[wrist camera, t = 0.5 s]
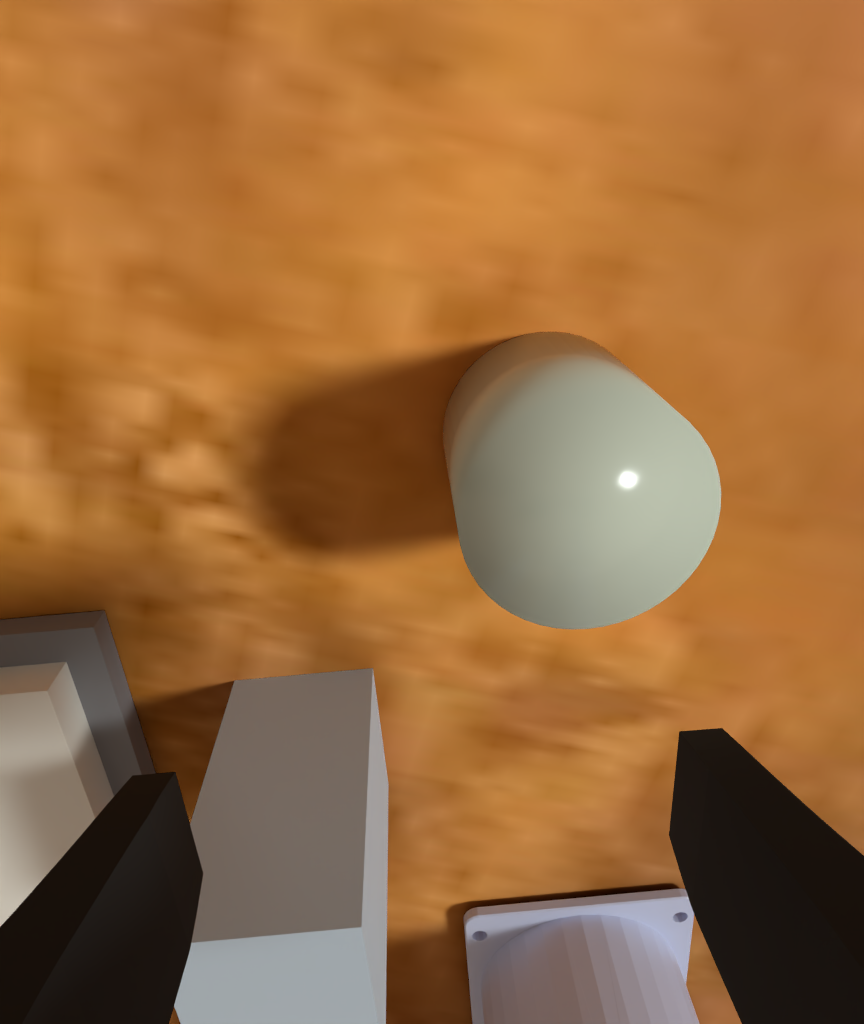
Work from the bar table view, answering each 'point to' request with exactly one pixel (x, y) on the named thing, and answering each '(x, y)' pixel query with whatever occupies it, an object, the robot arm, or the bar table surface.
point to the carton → (292, 858)
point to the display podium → (59, 741)
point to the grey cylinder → (575, 483)
